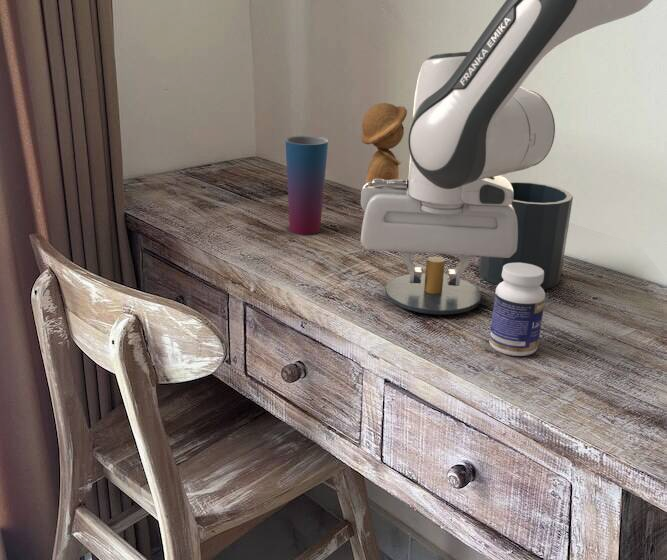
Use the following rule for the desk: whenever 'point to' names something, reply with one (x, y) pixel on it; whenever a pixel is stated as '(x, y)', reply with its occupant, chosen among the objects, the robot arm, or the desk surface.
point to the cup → (305, 182)
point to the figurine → (383, 139)
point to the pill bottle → (518, 310)
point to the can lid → (433, 292)
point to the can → (536, 232)
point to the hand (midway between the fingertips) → (434, 283)
